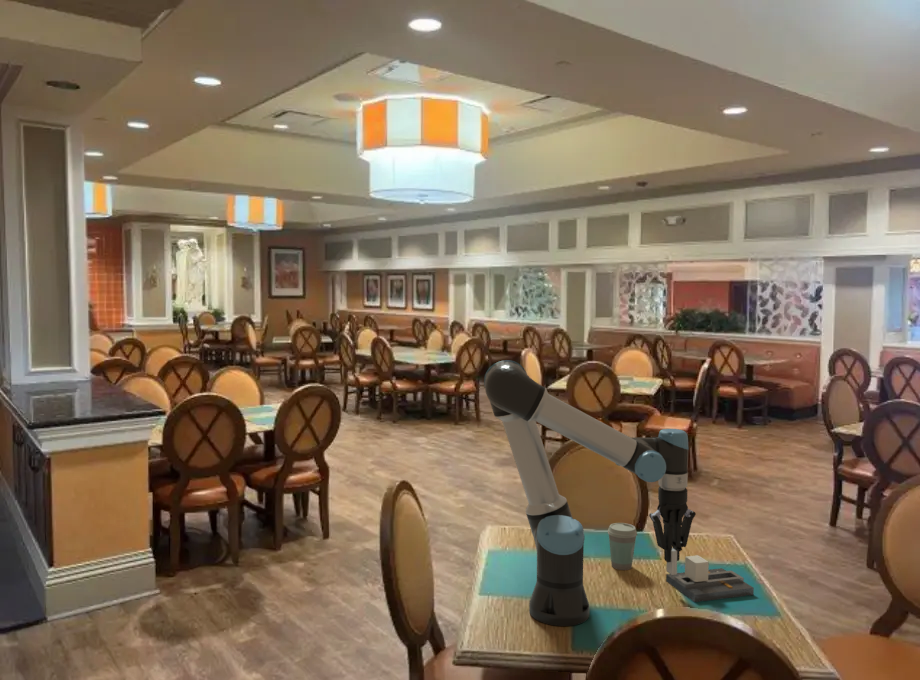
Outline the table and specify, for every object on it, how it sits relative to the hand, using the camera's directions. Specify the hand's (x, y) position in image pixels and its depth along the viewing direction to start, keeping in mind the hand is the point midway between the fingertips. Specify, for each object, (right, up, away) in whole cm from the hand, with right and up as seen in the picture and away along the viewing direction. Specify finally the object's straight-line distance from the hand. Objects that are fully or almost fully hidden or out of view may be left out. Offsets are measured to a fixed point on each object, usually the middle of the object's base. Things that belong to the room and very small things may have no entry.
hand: (671, 572), depth 196 cm
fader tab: (+7, -3, +2) cm, 9 cm away
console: (+11, -5, +3) cm, 13 cm away
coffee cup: (-9, -4, +19) cm, 21 cm away
